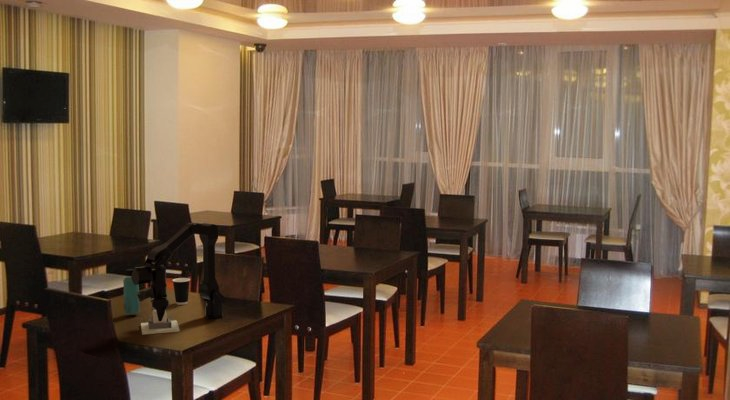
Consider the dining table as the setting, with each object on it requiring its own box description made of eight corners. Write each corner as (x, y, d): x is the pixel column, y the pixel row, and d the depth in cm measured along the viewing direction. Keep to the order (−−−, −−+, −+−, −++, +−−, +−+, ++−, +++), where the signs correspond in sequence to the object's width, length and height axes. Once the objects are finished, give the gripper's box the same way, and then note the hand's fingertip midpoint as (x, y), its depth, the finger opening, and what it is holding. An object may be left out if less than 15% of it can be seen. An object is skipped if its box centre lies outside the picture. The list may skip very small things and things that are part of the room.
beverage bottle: (143, 315, 320) (141, 269, 318) (128, 318, 315) (127, 271, 313) (135, 312, 324) (133, 267, 322) (121, 315, 319) (119, 269, 317)
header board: (176, 322, 308) (176, 315, 308) (179, 331, 295) (179, 324, 294) (140, 325, 303) (140, 318, 303) (142, 334, 290) (142, 327, 290)
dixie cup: (170, 302, 343) (170, 278, 342) (188, 300, 347) (187, 277, 346) (175, 306, 336) (174, 282, 335) (192, 304, 340) (192, 280, 339)
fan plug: (165, 320, 301) (165, 308, 301) (166, 323, 298) (166, 310, 297) (150, 321, 300) (150, 309, 299) (150, 324, 296) (150, 311, 295)
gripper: (136, 277, 303) (137, 315, 305) (138, 287, 286) (139, 327, 287) (165, 276, 307) (166, 313, 308) (168, 285, 289) (169, 325, 291)
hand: (159, 319), depth 299 cm, fingers closed on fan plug, 4 cm apart
